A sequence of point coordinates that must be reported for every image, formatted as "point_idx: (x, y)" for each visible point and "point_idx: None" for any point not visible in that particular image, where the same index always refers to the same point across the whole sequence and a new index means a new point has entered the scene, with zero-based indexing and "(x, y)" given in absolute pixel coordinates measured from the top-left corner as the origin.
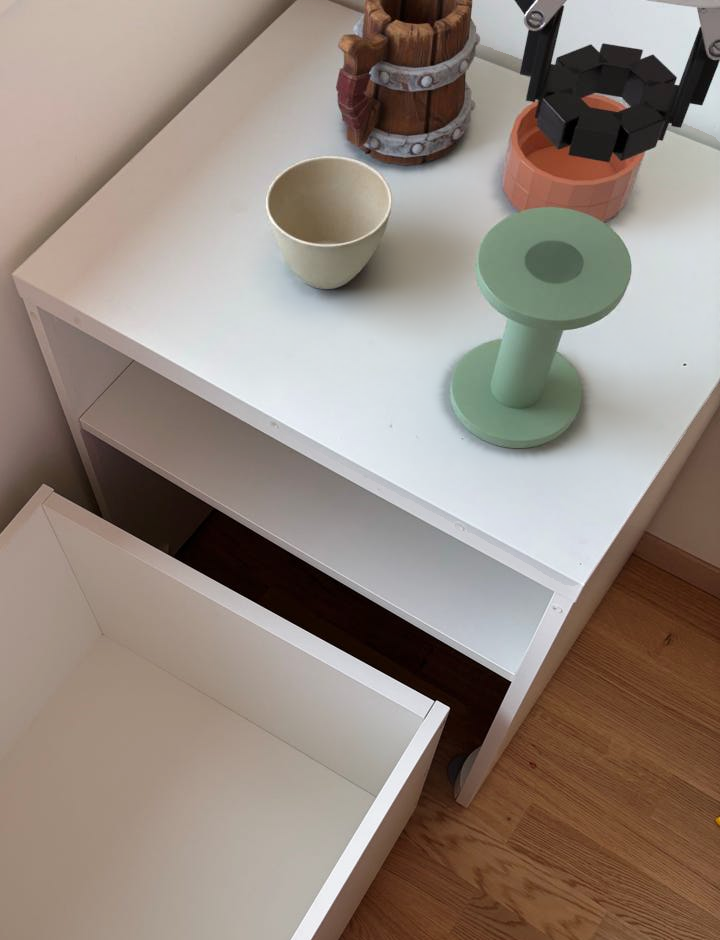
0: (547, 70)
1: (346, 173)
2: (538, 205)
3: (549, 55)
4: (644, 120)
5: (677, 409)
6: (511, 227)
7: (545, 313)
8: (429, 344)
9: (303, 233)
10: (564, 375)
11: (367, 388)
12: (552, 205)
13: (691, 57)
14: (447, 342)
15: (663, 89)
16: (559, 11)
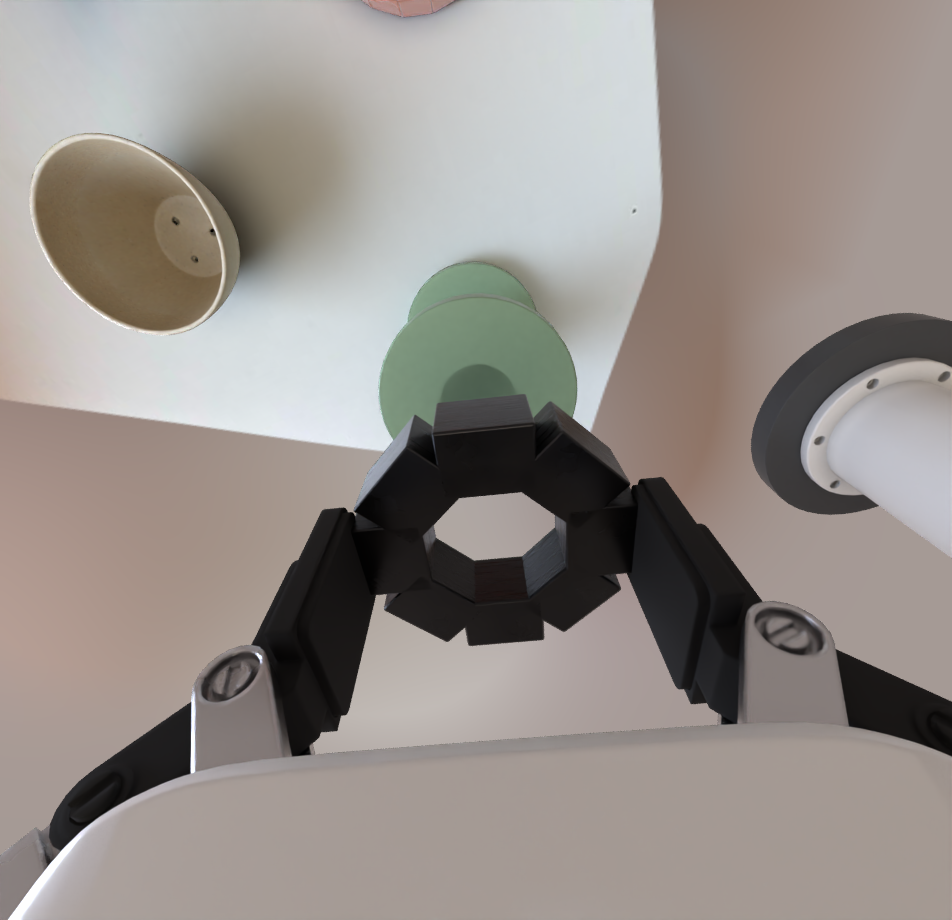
0: (358, 578)
1: (105, 146)
2: (386, 2)
3: (354, 658)
4: (583, 604)
5: (633, 279)
6: (403, 365)
7: None
8: (366, 301)
9: (135, 215)
10: (514, 299)
11: (340, 379)
12: (407, 2)
13: (678, 670)
14: (382, 290)
15: (606, 527)
16: (310, 655)
